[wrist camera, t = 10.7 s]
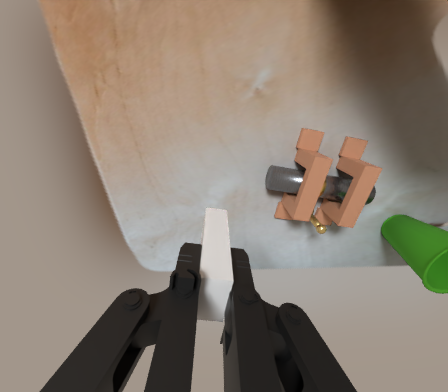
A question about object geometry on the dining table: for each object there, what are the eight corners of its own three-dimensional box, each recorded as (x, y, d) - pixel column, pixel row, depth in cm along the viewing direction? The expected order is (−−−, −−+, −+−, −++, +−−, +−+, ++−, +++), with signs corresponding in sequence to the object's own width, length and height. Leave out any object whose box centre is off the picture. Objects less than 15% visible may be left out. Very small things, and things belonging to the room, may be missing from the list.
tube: (263, 184, 34) (269, 192, 31) (269, 162, 33) (276, 169, 29) (354, 199, 36) (368, 208, 33) (363, 179, 34) (379, 187, 31)
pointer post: (301, 203, 36) (318, 223, 30) (314, 205, 36) (334, 225, 30) (296, 215, 37) (312, 237, 31) (309, 217, 37) (328, 239, 31)
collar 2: (346, 136, 32) (372, 143, 26) (365, 140, 32) (395, 147, 27) (312, 221, 37) (328, 240, 32) (328, 223, 38) (347, 243, 32)
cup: (380, 254, 41) (434, 303, 31) (362, 223, 38) (415, 266, 28) (426, 229, 39) (499, 272, 29) (411, 194, 36) (487, 229, 26)
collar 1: (302, 128, 31) (320, 133, 25) (322, 131, 31) (344, 137, 26) (274, 216, 37) (284, 235, 31) (291, 218, 37) (304, 237, 32)
